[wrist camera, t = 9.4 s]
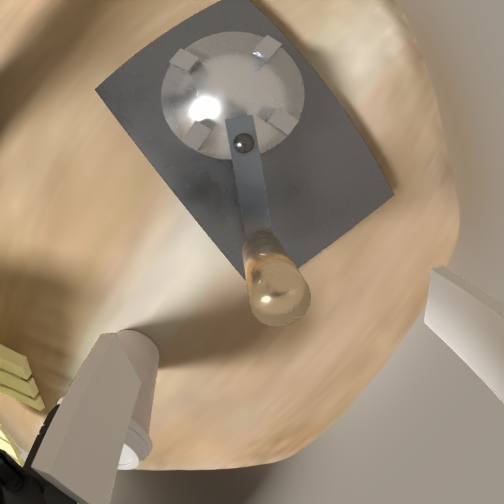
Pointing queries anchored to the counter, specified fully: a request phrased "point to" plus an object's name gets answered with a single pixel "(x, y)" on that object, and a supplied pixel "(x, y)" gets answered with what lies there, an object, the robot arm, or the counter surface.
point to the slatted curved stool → (16, 392)
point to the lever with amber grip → (243, 146)
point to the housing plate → (273, 160)
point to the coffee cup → (139, 397)
